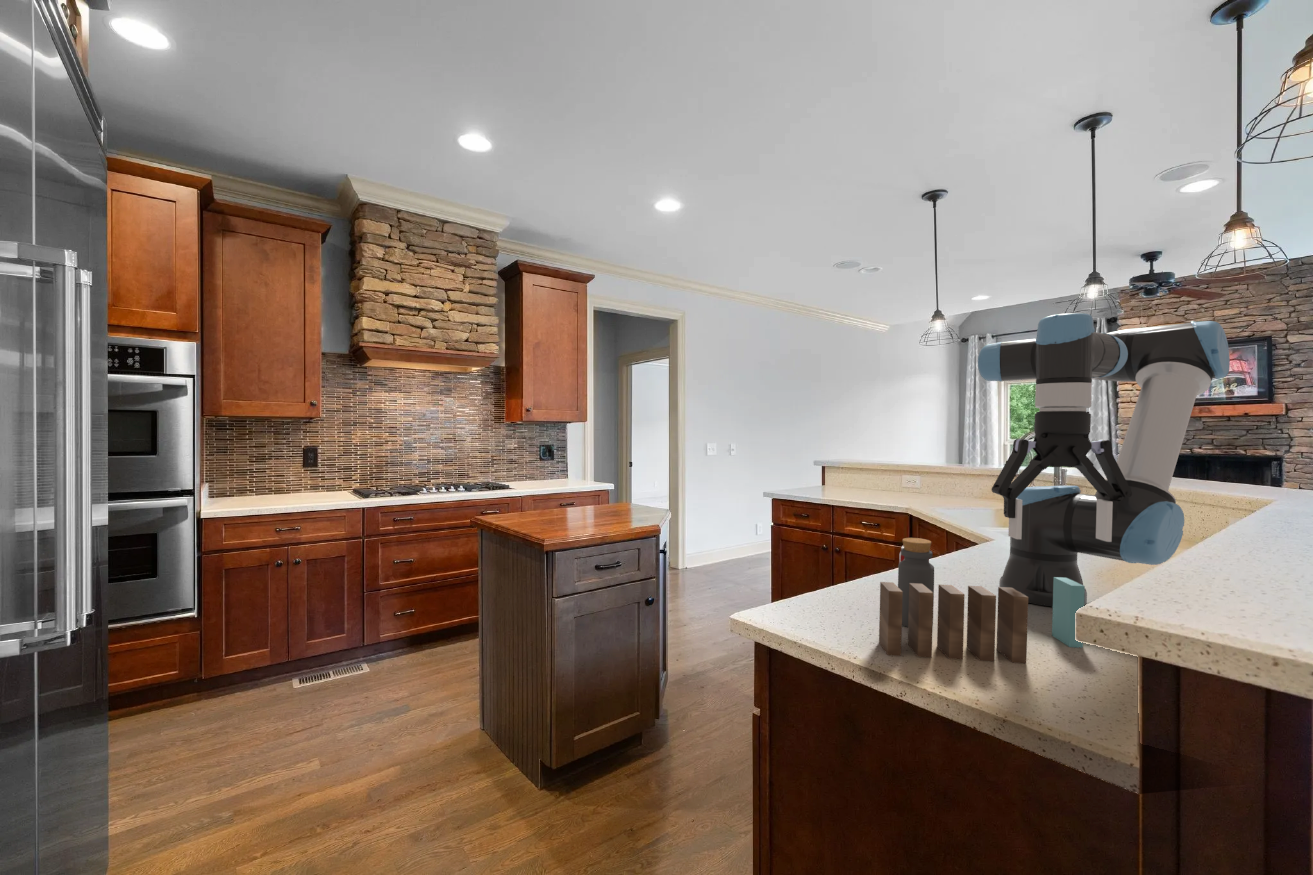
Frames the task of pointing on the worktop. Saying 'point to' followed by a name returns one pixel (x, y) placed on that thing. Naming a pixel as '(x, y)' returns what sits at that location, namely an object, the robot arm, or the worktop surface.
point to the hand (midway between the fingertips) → (1058, 539)
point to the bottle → (914, 570)
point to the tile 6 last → (890, 618)
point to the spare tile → (1066, 609)
